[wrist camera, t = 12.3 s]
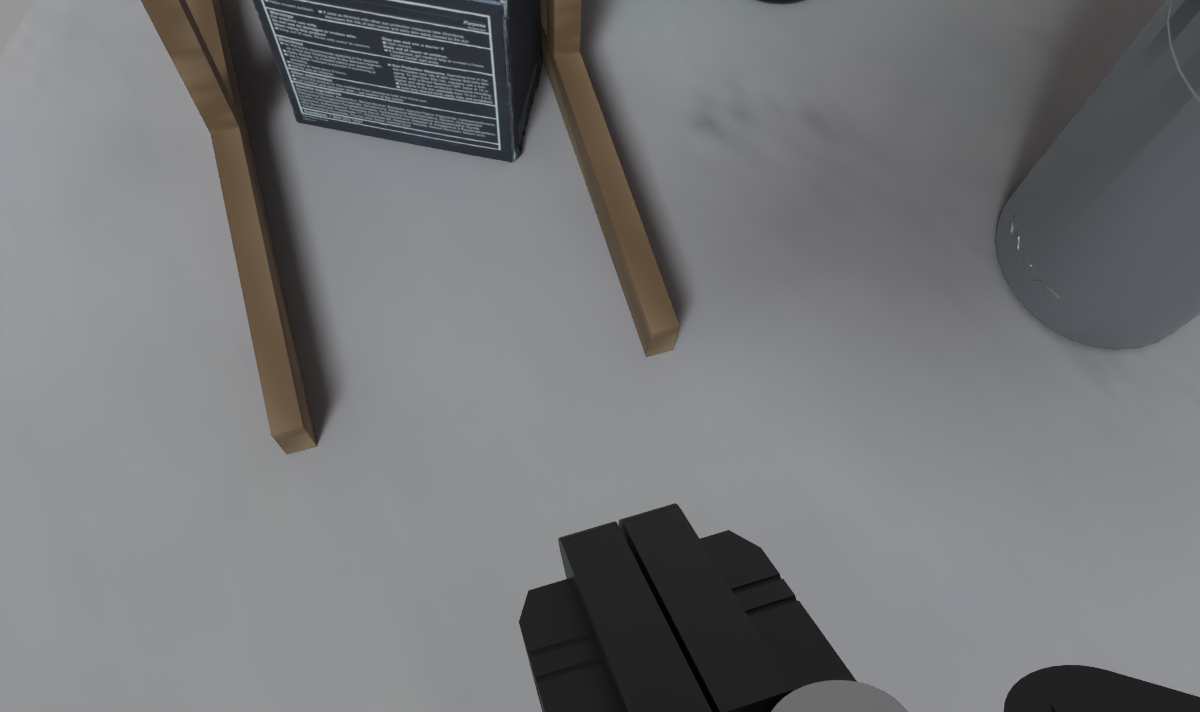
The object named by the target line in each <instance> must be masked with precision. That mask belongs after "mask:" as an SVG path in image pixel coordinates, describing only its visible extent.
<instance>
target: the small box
mask: <svg viewBox="0 0 1200 712" xmlns="http://www.w3.org/2000/svg"><path fill="white" fill-rule="evenodd" d="M253 2H254V4H255V8H256V10H257V12H258V14H259V19H260V21H261V24H262V27H263V30H264V32H265V35H266V37H267V40H268V43H269V45H270V48H271V51H272V53H273V56H274V59H275V61H276V64H277V67H278V69H279V71H280V74H281V78H282V81H283V83H284V86H285V88H286V90H287V93H288V97H289V99H290V102H291V105H292V107H293V112H294V115H295V118H296V120H297V122H299V123H304V124H310V125H315V126H320V127H324V128H330V129H336V130H341V131H346V132H351V133H357V134H362V135H367V136H373V137H378V138H383V139H388V140H394V141H399V142H406V143H410V144H415V145H421V146H426V147H431V148H437V149H442V150H447V151H453V152H459V153H463V154H469V155H474V156H481V157H485V158H491V159H497V160H502V161H507V162H514V161H515V160H516V159H517V158H518V157H519V156H520V151H521V145H522V144H521V143H522V141H521V140H522V137H523V135H524V134H525V131H524V129H525V126H526V123H527V118H528V113H529V110H530V106H531V104H532V100H533V95H534V91H535V90H536V89H537V87H538V82H539V77H540V67H541V64H542V51H541V47H542V44H541V1H540V0H253Z"/></svg>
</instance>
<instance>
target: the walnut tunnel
mask: <svg viewBox="0 0 1200 712" xmlns="http://www.w3.org/2000/svg"><path fill="white" fill-rule="evenodd" d="M141 1H142V3H143V5H144V7H145V9H146V11H147V13H148V15H149V17H150V19H151V21H152V22H153V24H154V26H155V28H156V30H157V32H158V34H159V36H160V38H161V40H162V42H163V44H164V45H165V47H166V49H167V51H168V53H169V55H170V57H171V59H172V61H173V63H174V65H175V66H176V68H177V70H178V72H179V74H180V76H181V78H182V80H183V82H184V84H185V86H186V88H187V89H188V91H189V93H190V95H191V97H192V99H193V101H194V103H195V105H196V107H197V109H198V110H199V112H200V114H201V116H202V118H203V120H204V122H205V124H206V126H207V128H208V130H209V132H210V133H211V138H212V143H213V148H214V153H215V158H216V163H217V168H218V173H219V178H220V183H221V188H222V193H223V198H224V203H225V208H226V213H227V218H228V222H229V227H230V232H231V237H232V242H233V247H234V252H235V257H236V262H237V267H238V272H239V277H240V282H241V287H242V292H243V297H244V302H245V307H246V312H247V317H248V322H249V327H250V332H251V337H252V342H253V347H254V352H255V357H256V362H257V367H258V372H259V377H260V382H261V386H262V391H263V396H264V401H265V406H266V411H267V416H268V421H269V426H270V431H271V435H272V437H273V438H274V439H275V440H276V442H277V443H278V444H279V445H280V447H281V448H282V449H283V450H284V452H285V453H286V454H290V453H294V452H297V451H301V450H305V449H308V448H312V447H316V442H315V437H314V432H313V428H312V423H311V419H310V414H309V409H308V405H307V400H306V396H305V391H304V386H303V382H302V377H301V373H300V368H299V363H298V359H297V354H296V349H295V345H294V340H293V336H292V331H291V326H290V322H289V317H288V313H287V308H286V303H285V299H284V294H283V290H282V285H281V280H280V276H279V271H278V266H277V262H276V257H275V253H274V248H273V243H272V239H271V234H270V230H269V225H268V220H267V216H266V211H265V207H264V202H263V197H262V193H261V188H260V183H259V179H258V174H257V170H256V165H255V160H254V156H253V151H252V147H251V142H250V137H249V133H248V128H247V123H246V119H245V114H244V110H243V105H242V100H241V96H240V91H239V87H238V82H237V77H236V73H235V68H234V64H233V59H232V54H231V50H230V45H229V40H228V36H227V31H226V27H225V22H224V17H223V13H222V8H221V4H220V0H141ZM540 1H541V44H542V47H541V51H542V59H543V62H544V65H545V68H546V70H547V73H548V76H549V79H550V82H551V85H552V88H553V91H554V93H555V96H556V99H557V102H558V105H559V108H560V111H561V114H562V116H563V119H564V122H565V125H566V128H567V131H568V134H569V137H570V139H571V142H572V145H573V148H574V151H575V154H576V157H577V160H578V162H579V165H580V168H581V171H582V174H583V177H584V180H585V183H586V185H587V188H588V191H589V194H590V197H591V200H592V203H593V206H594V208H595V211H596V214H597V217H598V220H599V223H600V226H601V229H602V231H603V234H604V237H605V240H606V243H607V246H608V249H609V252H610V254H611V257H612V260H613V263H614V266H615V269H616V272H617V275H618V277H619V280H620V283H621V286H622V289H623V292H624V295H625V298H626V300H627V303H628V306H629V309H630V312H631V315H632V318H633V321H634V323H635V326H636V329H637V332H638V335H639V338H640V341H641V344H642V346H643V349H644V352H645V355H646V357H648V356H652V355H655V354H659V353H663V352H667V351H670V350H673V348H674V344H675V341H676V337H677V334H678V330H679V327H680V325H679V322H678V320H677V317H676V314H675V311H674V309H673V306H672V303H671V300H670V298H669V295H668V292H667V290H666V287H665V284H664V281H663V279H662V276H661V273H660V270H659V268H658V265H657V262H656V259H655V257H654V254H653V251H652V248H651V246H650V243H649V240H648V237H647V235H646V232H645V229H644V226H643V224H642V221H641V218H640V216H639V213H638V210H637V207H636V205H635V202H634V199H633V196H632V194H631V191H630V188H629V185H628V183H627V180H626V177H625V174H624V172H623V169H622V166H621V163H620V161H619V158H618V155H617V152H616V150H615V147H614V144H613V141H612V139H611V136H610V133H609V131H608V128H607V125H606V122H605V120H604V117H603V114H602V111H601V109H600V106H599V103H598V100H597V98H596V95H595V92H594V89H593V87H592V84H591V81H590V78H589V76H588V73H587V70H586V67H585V65H584V62H583V59H582V57H581V54H580V34H581V10H582V0H540Z"/></svg>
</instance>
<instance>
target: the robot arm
mask: <svg viewBox="0 0 1200 712" xmlns="http://www.w3.org/2000/svg"><path fill="white" fill-rule="evenodd" d="M996 246H997V253H998V260H999V263H1000V266H1001V268H1002V271H1003V274H1004V276H1005V279H1006V281H1007V283H1008V284H1009V286H1010V287H1011V289H1012V291H1013V292H1014V294H1015V295H1016V297H1017V299H1018V300H1019V301H1020V302H1021V303H1022V304H1023V305H1024V306H1025V307H1026V308H1027V309H1028V311H1029V312H1030V313H1031V314H1032V315H1033V316H1034V317H1036V318H1037V319H1038V320H1040V321H1041V322H1042V323H1044V324H1045V325H1046V326H1048V327H1049V328H1050V329H1052V330H1054V331H1056V332H1057V333H1059V334H1061V335H1063V336H1065V337H1067V338H1069V339H1071V340H1073V341H1077V342H1080V343H1083V344H1086V345H1089V346H1093V347H1098V348H1107V349H1115V350H1119V349H1131V348H1139V347H1143V346H1146V345H1149V344H1153V343H1156V342H1158V341H1160V340H1162V339H1163V338H1165V337H1167V336H1168V335H1170V334H1172V333H1173V332H1175V331H1176V330H1178V329H1179V328H1180V327H1182V326H1183V325H1185V324H1186V323H1187V322H1189V321H1190V320H1192V319H1193V318H1194V317H1196V316H1197V315H1199V314H1200V0H1165V1H1164V2H1163V4H1162V5H1161V6H1160V7H1159V9H1158V10H1157V11H1156V12H1155V14H1154V15H1153V16H1152V18H1151V19H1150V20H1149V21H1148V23H1147V24H1146V25H1145V26H1144V28H1143V29H1142V30H1141V32H1140V33H1139V34H1138V35H1137V37H1136V38H1135V39H1134V40H1133V42H1132V43H1131V44H1130V45H1129V47H1128V48H1127V49H1126V51H1125V52H1124V53H1123V54H1122V56H1121V57H1120V58H1119V59H1118V61H1117V62H1116V63H1115V65H1114V66H1113V67H1112V68H1111V70H1110V71H1109V72H1108V73H1107V75H1106V76H1105V77H1104V79H1103V80H1102V81H1101V82H1100V84H1099V85H1098V86H1097V87H1096V89H1095V90H1094V91H1093V92H1092V94H1091V95H1090V96H1089V98H1088V99H1087V100H1086V101H1085V103H1084V104H1083V105H1082V106H1081V108H1080V109H1079V110H1078V112H1077V113H1076V114H1075V115H1074V117H1073V118H1072V119H1071V120H1070V122H1069V123H1068V124H1067V126H1066V127H1065V128H1064V129H1063V131H1062V132H1061V133H1060V134H1059V136H1058V137H1057V138H1056V139H1055V141H1054V142H1053V143H1052V144H1051V146H1050V147H1049V148H1048V149H1047V150H1046V152H1045V153H1044V154H1043V156H1042V157H1041V158H1040V159H1039V161H1038V162H1037V163H1036V165H1035V166H1034V167H1033V168H1032V170H1031V171H1030V172H1029V173H1028V175H1027V176H1026V177H1025V179H1024V180H1023V181H1022V182H1021V184H1020V185H1019V186H1018V187H1017V189H1016V190H1015V191H1014V193H1013V194H1012V195H1011V197H1010V198H1009V200H1008V201H1007V203H1006V204H1005V205H1004V207H1003V210H1002V213H1001V215H1000V218H999V221H998V225H997V235H996ZM559 547H560V552H561V556H562V560H563V565H564V569H565V573H566V577H567V579H566V580H562V581H559V582H556V583H552V584H549V585H546V586H542V587H539V588H536V589H532V590H529V591H528V594H527V597H526V601H525V604H524V607H523V610H522V614H521V617H520V620H519V624H520V628H521V632H522V636H523V639H524V643H525V647H526V651H527V655H528V658H529V662H530V666H531V670H532V674H533V677H534V681H535V685H536V689H537V693H538V696H539V700H540V704H541V708H542V712H908V711H907V710H906V709H905V708H904V707H903V706H902V705H901V704H900V703H899V702H898V701H897V700H896V699H895V698H893V697H892V696H890V695H889V694H888V693H886V692H884V691H882V690H880V689H878V688H876V687H873V686H870V685H867V684H864V683H860V682H857V681H856V680H855V678H854V677H853V676H852V674H851V673H850V671H849V670H848V669H847V667H846V666H845V664H844V663H843V662H842V660H841V659H840V657H839V656H838V655H837V653H836V652H835V650H834V649H833V648H832V646H831V645H830V643H829V642H828V641H827V639H826V638H825V636H824V635H823V634H822V632H821V631H820V630H819V628H818V627H817V625H816V624H815V623H814V621H813V620H812V618H811V617H810V616H809V614H808V613H807V611H806V610H805V609H804V607H803V606H802V604H801V603H800V602H799V601H797V600H796V598H795V595H794V593H793V592H792V590H791V589H790V588H789V586H788V585H787V584H786V582H785V581H784V579H782V580H781V577H780V574H779V572H778V571H777V570H776V568H775V567H774V565H773V564H772V563H771V561H770V560H769V558H768V557H767V556H766V554H765V553H764V551H763V550H762V549H761V548H760V547H758V546H757V545H755V544H753V543H751V542H749V541H748V540H746V539H744V538H742V537H740V536H738V535H737V534H735V533H733V532H731V531H729V530H728V531H724V532H721V533H718V534H714V535H711V536H708V537H704V538H701V539H699V538H698V536H697V534H696V533H695V531H694V530H693V528H692V526H691V525H690V523H689V522H688V520H687V518H686V517H685V515H684V514H683V512H682V510H681V509H680V507H679V506H678V505H677V504H671V505H668V506H665V507H661V508H658V509H654V510H651V511H648V512H644V513H641V514H638V515H634V516H631V517H627V518H624V519H621V520H619V526H618V524H617V523H616V522H611V523H608V524H604V525H601V526H598V527H594V528H591V529H587V530H584V531H581V532H577V533H574V534H570V535H567V536H564V537H560V538H559ZM1004 712H1200V697H1197V696H1194V695H1190V694H1187V693H1183V692H1180V691H1177V690H1173V689H1170V688H1166V687H1163V686H1159V685H1156V684H1152V683H1149V682H1146V681H1142V680H1139V679H1135V678H1132V677H1128V676H1125V675H1122V674H1118V673H1115V672H1111V671H1108V670H1104V669H1099V668H1095V667H1089V666H1081V665H1062V666H1053V667H1048V668H1044V669H1040V670H1038V671H1035V672H1032V673H1030V674H1028V675H1027V676H1025V677H1023V678H1022V679H1020V680H1019V681H1018V682H1017V683H1016V684H1015V685H1014V686H1013V687H1012V688H1011V690H1010V691H1009V693H1008V695H1007V698H1006V700H1005V705H1004Z"/></svg>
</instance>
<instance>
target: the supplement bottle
mask: <svg viewBox="0 0 1200 712" xmlns="http://www.w3.org/2000/svg"><path fill="white" fill-rule="evenodd" d="M757 1H761V2H765V3H771V4H791V3H797V2H801V1H804V0H757Z"/></svg>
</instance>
